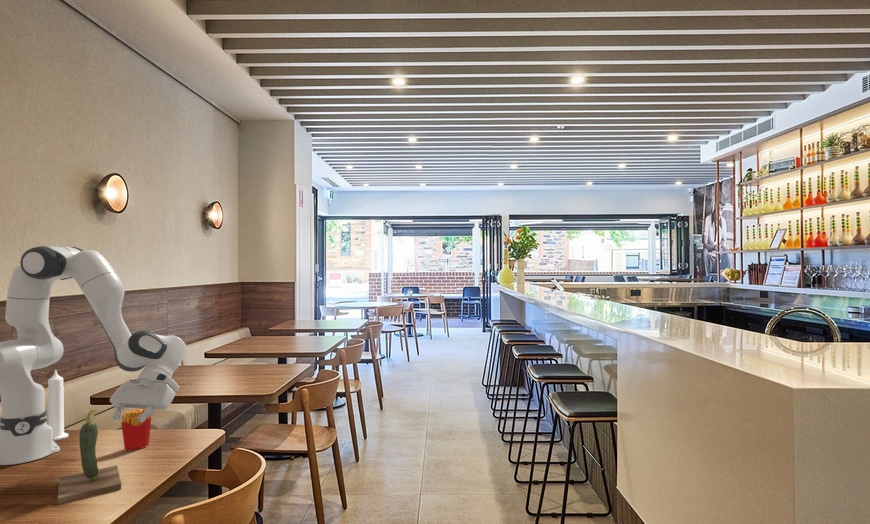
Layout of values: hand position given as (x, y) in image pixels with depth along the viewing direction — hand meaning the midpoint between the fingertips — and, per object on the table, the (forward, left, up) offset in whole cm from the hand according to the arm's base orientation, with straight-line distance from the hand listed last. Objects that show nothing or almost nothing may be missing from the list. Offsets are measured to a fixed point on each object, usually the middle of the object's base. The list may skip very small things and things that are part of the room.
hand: (127, 419), depth 154 cm
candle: (-51, -19, -15) cm, 56 cm away
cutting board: (+8, -10, -15) cm, 20 cm away
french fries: (-19, +4, -15) cm, 25 cm away
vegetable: (+8, -10, -13) cm, 19 cm away
